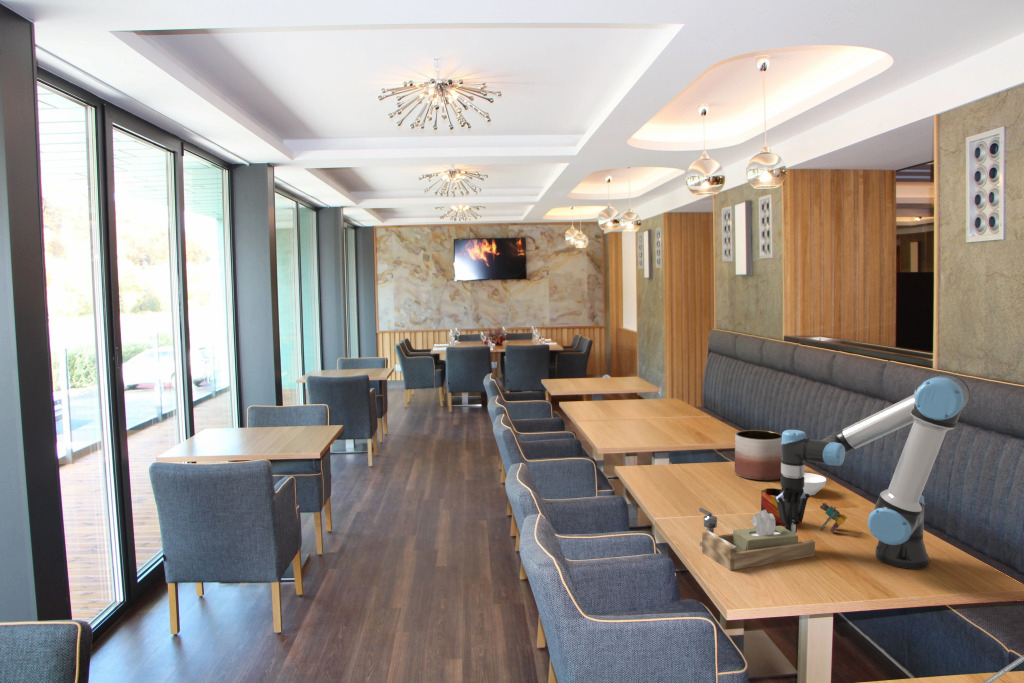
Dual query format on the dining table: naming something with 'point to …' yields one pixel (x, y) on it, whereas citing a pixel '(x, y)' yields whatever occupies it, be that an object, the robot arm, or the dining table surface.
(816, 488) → the bowl
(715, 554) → the bay
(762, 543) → the tissue box
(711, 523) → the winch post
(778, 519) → the mug
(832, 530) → the binoculars
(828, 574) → the dining table surface
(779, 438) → the planter
